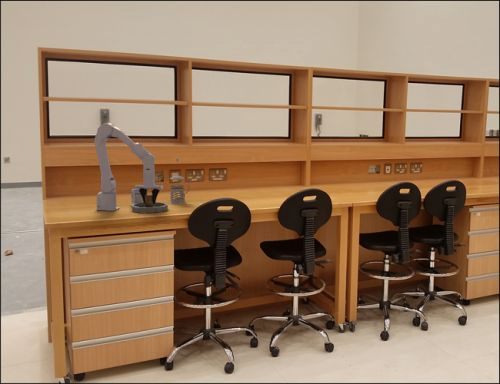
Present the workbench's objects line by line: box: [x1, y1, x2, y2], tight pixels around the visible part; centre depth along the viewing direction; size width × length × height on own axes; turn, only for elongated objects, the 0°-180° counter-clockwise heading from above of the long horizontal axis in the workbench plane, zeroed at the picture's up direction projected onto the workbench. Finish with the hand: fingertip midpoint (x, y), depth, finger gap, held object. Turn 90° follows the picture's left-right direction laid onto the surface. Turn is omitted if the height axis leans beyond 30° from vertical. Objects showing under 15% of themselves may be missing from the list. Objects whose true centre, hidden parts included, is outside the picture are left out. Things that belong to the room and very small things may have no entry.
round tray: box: [131, 201, 169, 214], centre depth 253 cm, size 18×18×3 cm
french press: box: [168, 158, 190, 205], centre depth 275 cm, size 10×12×25 cm
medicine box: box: [130, 188, 143, 205], centre depth 269 cm, size 8×4×9 cm, turn 126°
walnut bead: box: [145, 193, 154, 207], centre depth 253 cm, size 4×4×6 cm
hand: (149, 203), depth 253 cm, fingers closed on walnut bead, 4 cm apart
